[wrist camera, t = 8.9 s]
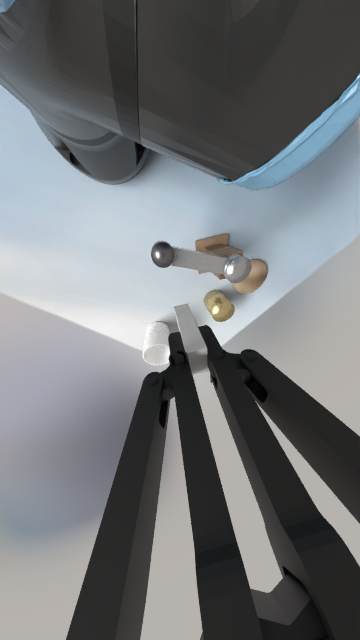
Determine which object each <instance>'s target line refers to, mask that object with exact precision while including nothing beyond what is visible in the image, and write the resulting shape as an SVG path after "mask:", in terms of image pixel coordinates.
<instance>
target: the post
mask: <svg viewBox="0 0 360 640" xmlns="http://www.w3.org/2000/svg"><path fill="white" fill-rule="evenodd" d="M195 245H196V251H199V252H203V253H208V254H213V255H217V256H222V257H228V256H230V255H232V254H238V255H241V256H243V251H242V250H239V249H236V248H233V247H230V246H228V234H223V235H218V236H214V237H210V238H206V239H202V240H198V241H195ZM205 272H206V271H201V270H198V273H199V274H201V273H205ZM213 274H214V275H215V276H217V277H218V278H219V279H220V280H221V279H225V277H224V276H223V275H222V274H218V273H213Z"/></svg>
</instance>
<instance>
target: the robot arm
mask: <svg viewBox="0 0 360 640" xmlns="http://www.w3.org/2000/svg"><path fill="white" fill-rule="evenodd" d="M0 84H1V85H2V86H3V87H4V88H5V89H7V90H8V91H9V92H10V93H11V94H12V95H13V96H15V97H16V98H17V99H18V100H19V101H20V102H21V103H23V104H24V105H25V106H26V107H27V108H28V109H29V110H30V112H31V113H32V115H33V117H34V119H35V120H36V122H37V124H38V125H39V127H40V129H41V130H42V132H43V133H44V134H45V136H46V137H47V139H48V140H49V141H50V143H51V144H52V145H53V146H54V148H55V149H56V150H57V151H58V152H59V153H60V154H61V155H62V156H63V157H64V158H65V159H66V160H67V161H68V162H69V163H70V164H71V165H72V166H74V167H75V168H76V169H78V170H79V171H80V172H82V173H83V174H85V175H86V176H88V177H90V178H92V179H94V180H96V181H98V182H101V183H105V184H121V183H124V182H126V181H128V180H130V179H132V178H133V177H134V176H135V175H136V174H137V173H138V172H139V171H140V170H141V168H142V167H143V165H144V163H145V161H146V159H147V157H148V154H149V151H150V149H151V150H153V151H156V152H158V153H160V154H163V155H165V156H167V157H170V158H172V159H174V160H176V161H179V162H181V163H183V164H186V165H188V166H190V167H193V168H195V169H197V170H200V171H202V172H204V173H206V174H209V175H211V176H213V177H216V178H217V180H218V181H219V182H221V183H223V184H227V185H229V184H235V185H238V186H240V187H243V188H246V189H249V190H260V189H265V188H270V187H273V186H275V185H277V184H279V183H281V182H283V181H285V180H287V179H288V178H290V177H292V176H293V175H295V174H296V173H298V172H299V171H300V170H302V169H303V168H304V167H306V166H307V165H308V164H309V163H311V162H312V161H313V160H314V159H315V158H317V157H318V156H319V155H320V154H321V153H322V152H324V151H325V150H326V149H327V148H328V147H329V146H330V145H331V144H332V143H333V142H334V141H335V140H336V139H337V138H339V137H340V136H341V135H342V134H343V133H344V132H345V131H346V130H347V129H348V128H349V127H350V126H351V125H352V124H353V123H354V121H355V120H356V119H357V118H358V117H359V116H360V0H0ZM174 309H175V313H176V318H177V323H178V327H179V331H180V332H176V333H171V334H169V337H168V342H169V350H170V355H169V362H170V365H169V367H168V368H167V369H166V370H164V371H162V372H161V373H159V372H151V373H150V374H148V375H147V376H146V377H145V379H144V381H143V384H142V388H141V391H140V394H139V397H138V401H137V404H136V407H135V411H134V414H133V417H132V421H131V424H130V427H129V431H128V434H127V438H126V441H125V444H124V447H123V451H122V454H121V458H120V461H119V464H118V467H117V471H116V474H115V478H114V481H113V484H112V488H111V491H110V495H109V498H108V501H107V505H106V508H105V511H104V514H103V518H102V521H101V525H100V528H99V531H98V534H97V538H96V541H95V544H94V548H93V551H92V555H91V558H90V561H89V564H88V568H87V571H86V575H85V578H84V581H83V585H82V588H81V591H80V595H79V598H78V601H77V605H76V608H75V611H74V615H73V618H72V621H71V625H70V628H69V631H68V635H67V638H66V640H140V636H141V630H142V623H143V616H144V609H145V603H146V594H147V586H148V577H149V570H150V562H151V552H152V544H153V537H154V529H155V520H156V512H157V504H158V495H159V488H160V480H161V471H162V463H163V455H164V447H165V439H166V430H167V422H168V414H169V406H170V399H171V398H173V397H175V402H176V409H177V417H178V425H179V431H180V440H181V447H182V455H183V463H184V470H185V478H186V486H187V493H188V501H189V509H190V517H191V524H192V532H193V540H194V548H195V562H196V576H197V588H198V597H199V605H200V613H201V621H202V629H203V632H202V635H201V638H200V640H360V567H359V565H358V563H357V562H356V560H355V558H354V557H353V555H352V554H351V552H350V551H349V549H348V547H347V546H346V544H345V543H344V541H343V540H342V538H341V537H340V536H339V534H338V533H337V532H336V530H335V529H334V528H333V527H332V526H331V525H330V524H329V523H328V522H327V520H326V519H325V518H324V517H323V516H322V515H321V513H320V512H319V511H318V509H317V508H316V506H315V504H314V503H313V501H312V499H311V498H310V496H309V494H308V492H307V491H306V489H305V487H304V485H303V484H302V482H301V480H300V478H299V477H298V475H297V473H296V471H295V470H294V468H293V466H292V464H291V463H290V461H289V459H288V458H287V456H286V454H285V452H284V451H283V449H282V447H281V445H280V444H279V442H278V440H277V438H276V437H275V435H274V433H273V431H272V430H271V428H270V426H269V424H268V423H267V421H266V419H265V417H264V416H263V414H262V413H261V410H260V409H259V407H258V405H257V403H258V404H259V406H260V407H261V408H262V409H263V410H264V412H265V413H266V414H267V415H268V416H269V417H270V419H271V420H272V421H273V422H274V423H275V424H276V425H277V427H278V428H279V429H280V430H281V432H282V433H283V434H284V435H285V436H286V437H287V439H288V440H289V441H290V442H291V443H292V444H293V446H294V447H295V448H296V449H297V450H298V452H299V453H300V454H301V455H302V456H303V457H304V459H305V460H306V461H307V462H308V463H309V465H310V466H311V467H312V468H313V469H314V470H315V472H316V473H317V474H318V475H319V476H320V477H321V479H322V480H323V481H324V482H325V483H326V484H327V486H328V487H329V488H330V489H331V490H332V491H333V493H334V494H335V495H336V496H337V497H338V499H339V500H340V501H341V502H342V503H343V505H344V506H345V507H346V508H347V509H348V510H349V512H350V513H351V514H352V515H353V516H354V517H355V519H356V520H357V521H358V522H359V523H360V436H358V435H357V434H356V433H355V432H354V431H352V430H351V429H350V428H349V427H348V426H346V425H345V424H344V423H343V422H342V421H340V420H339V419H338V418H336V417H335V416H334V415H333V414H332V413H331V412H329V411H328V410H327V409H326V408H325V407H323V406H322V405H321V404H320V403H318V402H317V401H316V400H315V399H314V398H312V397H311V396H310V395H309V394H308V393H306V392H305V391H304V390H303V389H302V388H300V387H299V386H298V385H297V384H296V383H294V382H293V381H292V380H291V379H289V378H288V377H287V376H286V375H284V374H283V373H282V372H281V371H280V370H279V369H277V368H276V367H275V366H274V365H273V364H271V363H270V362H269V361H268V360H266V359H265V358H264V357H263V356H262V355H260V354H259V353H258V352H256V351H254V350H251V349H246V350H243V351H242V352H241V354H233V353H228V352H226V351H225V350H223V349H222V347H221V346H220V344H219V342H218V340H217V339H216V337H215V335H214V333H213V331H212V330H211V328H210V327H209V326H207V325H205V326H200V327H198V326H197V324H196V322H195V319H194V317H193V315H192V312H191V310H190V308H189V306H188V304H184V305H179V306H175V307H174ZM208 368H209V371H210V378H211V383H212V382H213V385H214V388H215V390H216V393H217V396H218V398H219V401H220V404H221V406H222V409H223V411H224V414H225V417H226V420H227V422H228V425H229V428H230V430H231V433H232V436H233V438H234V441H235V444H236V446H237V449H238V452H239V454H240V457H241V460H242V462H243V465H244V468H245V471H246V473H247V476H248V479H249V481H250V484H251V486H252V489H253V492H254V495H255V497H256V500H257V502H258V505H259V508H260V511H261V513H262V516H263V519H264V523H265V528H266V531H267V535H268V538H269V540H270V544H271V546H272V549H273V552H274V555H275V557H276V560H277V563H278V566H279V568H280V571H281V574H282V576H283V579H282V580H281V581H280V582H279V584H278V585H277V586H276V587H275V588H274V589H273V591H271V592H270V593H265V592H261V591H257V590H253V589H250V586H249V583H248V579H247V576H246V572H245V568H244V565H243V561H242V558H241V554H240V551H239V547H238V544H237V541H236V537H235V534H234V530H233V526H232V522H231V519H230V515H229V511H228V507H227V504H226V500H225V496H224V492H223V489H222V485H221V481H220V478H219V473H218V470H217V466H216V462H215V458H214V455H213V451H212V448H211V443H210V440H209V436H208V432H207V428H206V424H205V421H204V417H203V413H202V409H201V406H200V402H199V398H198V395H197V391H196V387H195V383H194V379H193V375H194V374H198V373H202V372H206V371H208ZM255 401H256V402H257V403H256V402H255Z"/></svg>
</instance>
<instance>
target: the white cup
mask: <svg viewBox="0 0 360 640" xmlns="http://www.w3.org/2000/svg"><path fill="white" fill-rule="evenodd" d="M169 334H170V333H169V329H168V326H167V325H166V324H165V323H162V322H154V323H151V324H150V325H149V326H148V327H147V331H146V336H145V342H144V349H143V359H144V360H145V362H147V363H149V364H151V365H164V364H166V363H168V362H169V355H170V350H169V342H168V337H169Z"/></svg>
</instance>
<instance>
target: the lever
mask: <svg viewBox="0 0 360 640" xmlns="http://www.w3.org/2000/svg"><path fill="white" fill-rule="evenodd" d="M151 257H152V260H153V262H154V263H155V264H156V265H157V266H159V267H162V268H165V267H168V266H170V265H172V266H178V267H184V268H189V269H195V270H201V271H206V272H212V273H218V274H222V275H223V276H224V277H225V278H227V279H228V280H229V281H230V282H232V283H239V282H242V281H244V280H245V279H246V278H247V277H248V276H249V274H250V272H251V269H252V264H251V261H250V260H249V259H248V258H246V257H244V256H241V255H238V254H232V255H230V256H228V257H222V256H217V255H213V254H208V253H203V252H199V251H194V250H189V249H184V248H180V247H175V246H171V245H170V244H169V243H167V242H166V241H158V242H156V243H155V244H154V245H153V247H152V251H151Z"/></svg>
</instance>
